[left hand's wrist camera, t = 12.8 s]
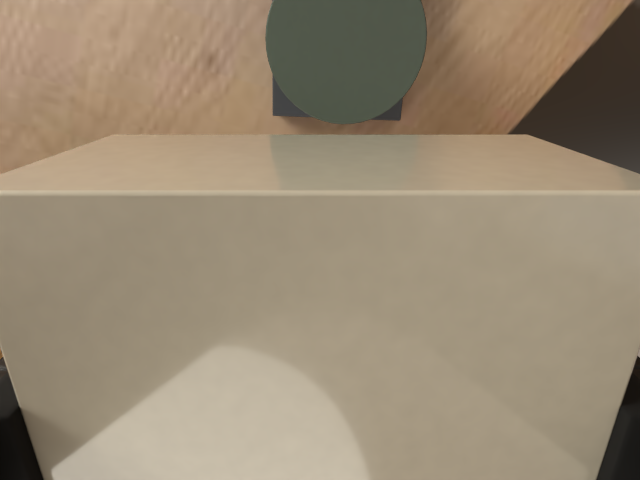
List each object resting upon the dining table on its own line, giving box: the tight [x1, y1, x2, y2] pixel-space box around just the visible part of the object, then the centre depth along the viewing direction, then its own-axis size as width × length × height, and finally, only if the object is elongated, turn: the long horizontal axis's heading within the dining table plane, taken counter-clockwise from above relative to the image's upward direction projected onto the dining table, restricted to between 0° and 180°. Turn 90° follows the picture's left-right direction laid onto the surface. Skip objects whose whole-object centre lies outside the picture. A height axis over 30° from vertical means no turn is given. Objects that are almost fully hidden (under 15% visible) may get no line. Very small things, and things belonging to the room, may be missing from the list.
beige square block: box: [0, 135, 640, 480], centre depth 10 cm, size 10×10×5 cm
